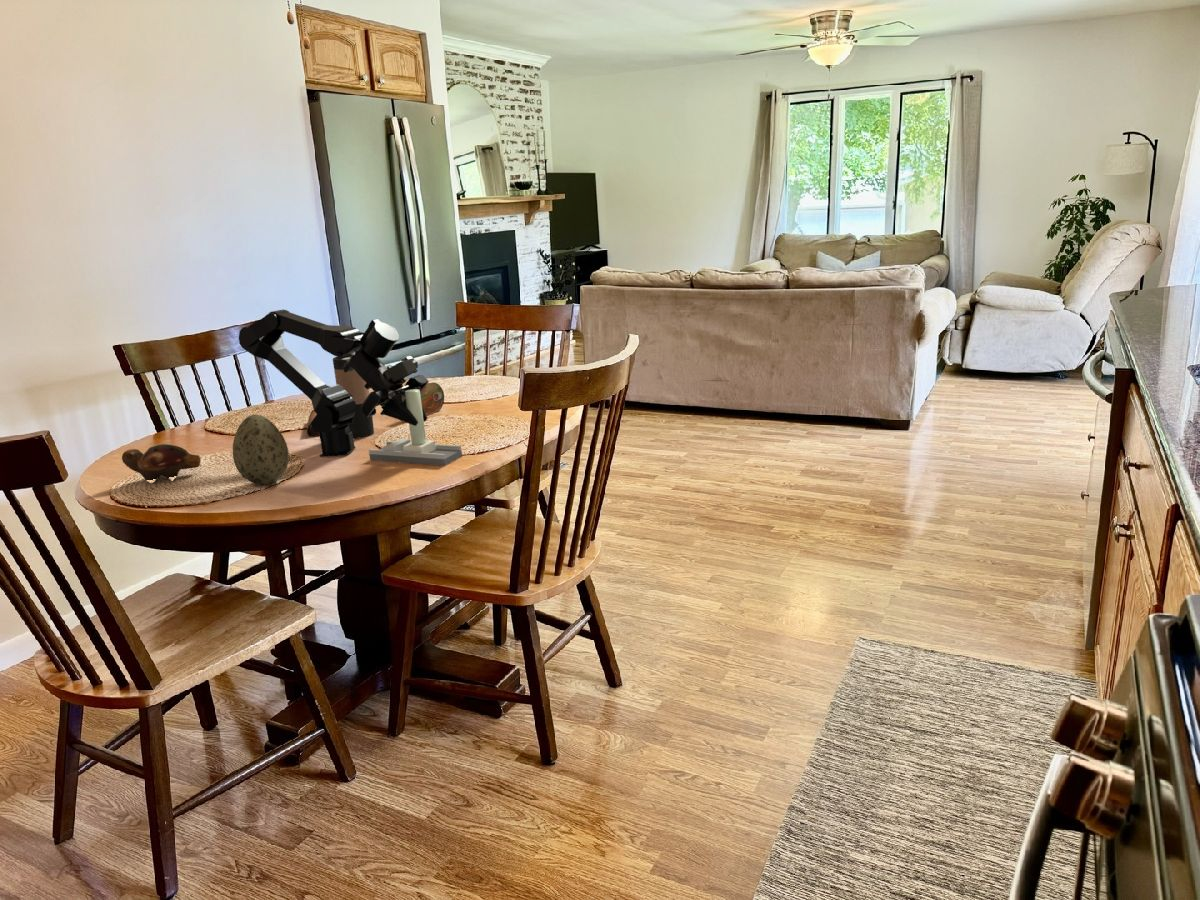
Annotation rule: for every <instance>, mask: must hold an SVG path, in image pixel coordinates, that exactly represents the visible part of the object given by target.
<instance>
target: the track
mask: <svg viewBox="0 0 1200 900" xmlns="http://www.w3.org/2000/svg"><path fill="white" fill-rule="evenodd" d="M410 442H411V438H399V439H397V440H395V441H393V440H392V441H389V440H387V441H386V445H384V447H381V448H379V449H368V454H369V455H368V456H369V460H370V461H372V462H373V461H377V462H389V463H400V464H401V463H402V464H415V465H417V464H418V465H428V466H429V465H430V466H443V467H445V466H448V465H449V464H451V463H452V462H455V461H456V460H459V459H460V458H462V457H463V450H462V445H459V444H458V445H456V444H439V443H438V444H437V443H435V444H436V450H434V451H432V452H430V453H421V452H405V451H404V450H403V446H404V445H406V444H408V443H410Z"/></svg>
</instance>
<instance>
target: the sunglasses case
mask: <svg viewBox="0 0 1200 900" xmlns="http://www.w3.org/2000/svg"><path fill="white" fill-rule="evenodd" d="M316 415H317V414H316V413H315V411H314V409H313V410H312V411H311V412H310V413H309V416H308V420H307V425H306V433H307V436H308V437H310V438H312V437H313V438H315V437H320V435H319V432H314V430H313V428H312V426H311V422H312V421H313V419H314V418H315V416H316Z"/></svg>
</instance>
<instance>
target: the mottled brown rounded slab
mask: <svg viewBox="0 0 1200 900" xmlns="http://www.w3.org/2000/svg"><path fill="white" fill-rule="evenodd" d="M420 396H421V404H422V407H423V409H424V412H425V414H426V416H427V417H428V416H429V415H432V414H435V413H438V412H440V410H442V408H443V406H444V402H445V393H444V390H443V387H442V386H441V385H440V384H439V383H437V382H433V381H432V382H428V383H427V385H426V386H425V387H424V389H423V390H422V391H421V393H420Z"/></svg>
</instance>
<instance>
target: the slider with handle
mask: <svg viewBox="0 0 1200 900" xmlns="http://www.w3.org/2000/svg"><path fill="white" fill-rule="evenodd" d="M405 396H406V404H407V408H408V410H409V411H410V412H411V413H412V414H413V416H414V417H415V418H416V420H417V421H418V424H417V425H416V426H414V425H411V424H409V423H408V425H409V432H410V443H408V444H406V445H404V446H403V450H404V451H405V452H421V453H430V452H432V451H434V450H436V444H437V443H436V440H429V439H428V440H427V437H426V436H427V435H426V430H425V422H424V420H423V412H422V404H421V396H420V390H418V389H413V390H407V391H405Z"/></svg>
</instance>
